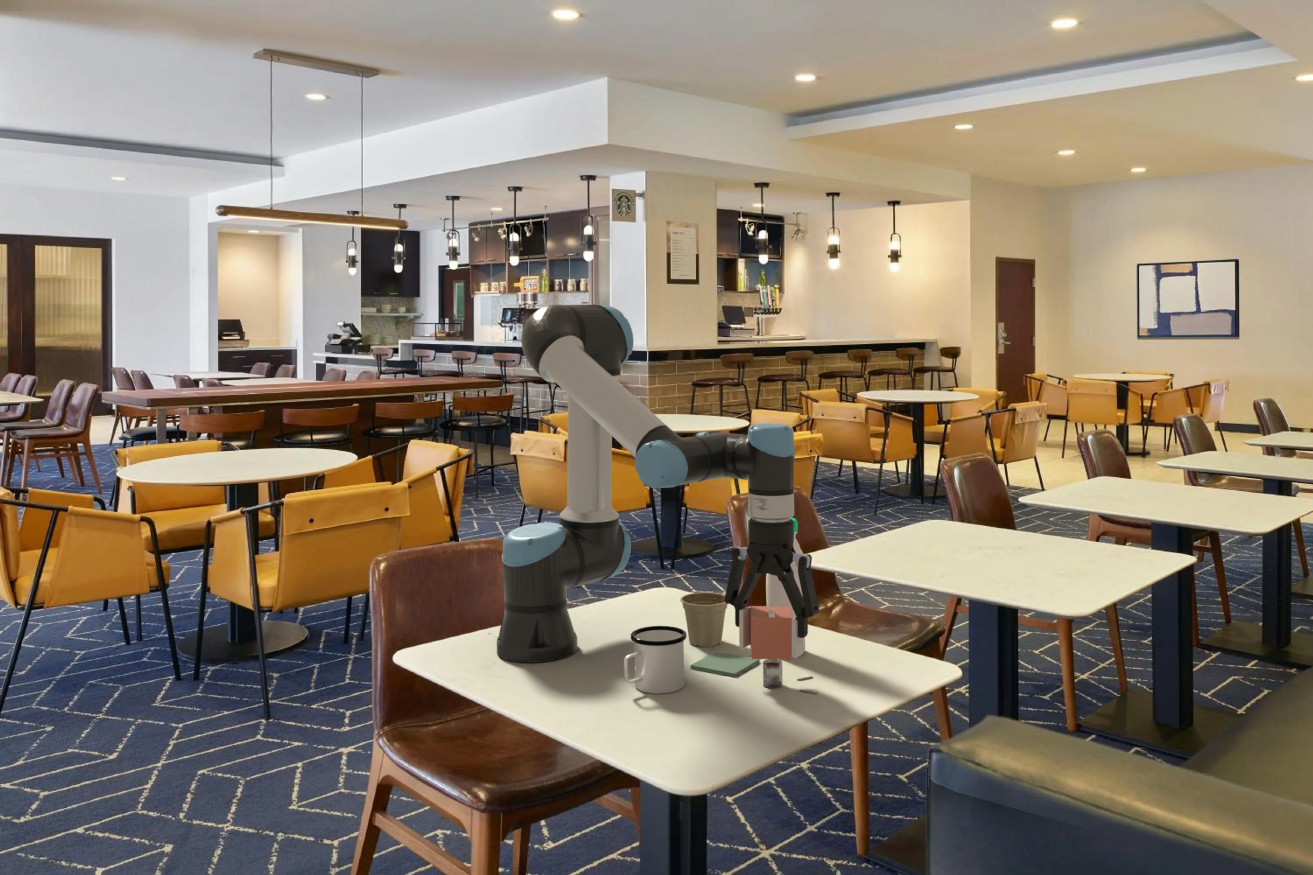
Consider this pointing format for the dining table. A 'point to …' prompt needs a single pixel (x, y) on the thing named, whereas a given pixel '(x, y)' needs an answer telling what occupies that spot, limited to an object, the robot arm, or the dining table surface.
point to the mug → (657, 659)
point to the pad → (725, 664)
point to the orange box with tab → (771, 632)
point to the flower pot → (704, 617)
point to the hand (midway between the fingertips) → (770, 650)
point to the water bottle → (776, 589)
